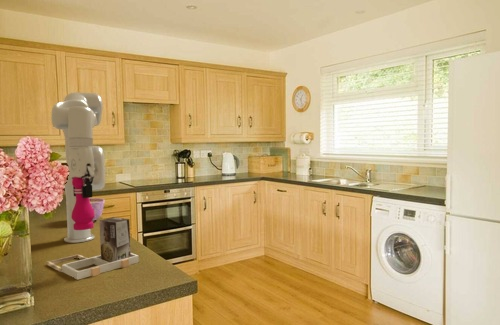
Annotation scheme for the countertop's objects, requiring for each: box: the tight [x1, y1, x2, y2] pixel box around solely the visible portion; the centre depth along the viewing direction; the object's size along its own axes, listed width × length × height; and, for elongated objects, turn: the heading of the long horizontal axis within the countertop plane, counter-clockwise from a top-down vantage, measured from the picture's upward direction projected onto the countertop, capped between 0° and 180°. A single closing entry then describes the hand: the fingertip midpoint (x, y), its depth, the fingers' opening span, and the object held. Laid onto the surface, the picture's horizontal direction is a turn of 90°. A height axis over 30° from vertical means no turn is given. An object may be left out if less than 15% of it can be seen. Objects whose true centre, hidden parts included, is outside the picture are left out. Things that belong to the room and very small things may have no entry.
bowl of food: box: [89, 197, 106, 223], centre depth 209 cm, size 20×20×12 cm
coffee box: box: [99, 216, 131, 262], centre depth 136 cm, size 9×6×16 cm
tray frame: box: [46, 254, 88, 273], centre depth 136 cm, size 11×11×1 cm
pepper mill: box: [72, 175, 95, 230], centre depth 127 cm, size 7×7×20 cm
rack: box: [61, 252, 140, 280], centre depth 132 cm, size 13×22×2 cm, turn 139°
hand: (83, 196), depth 128 cm, fingers closed on pepper mill, 5 cm apart
